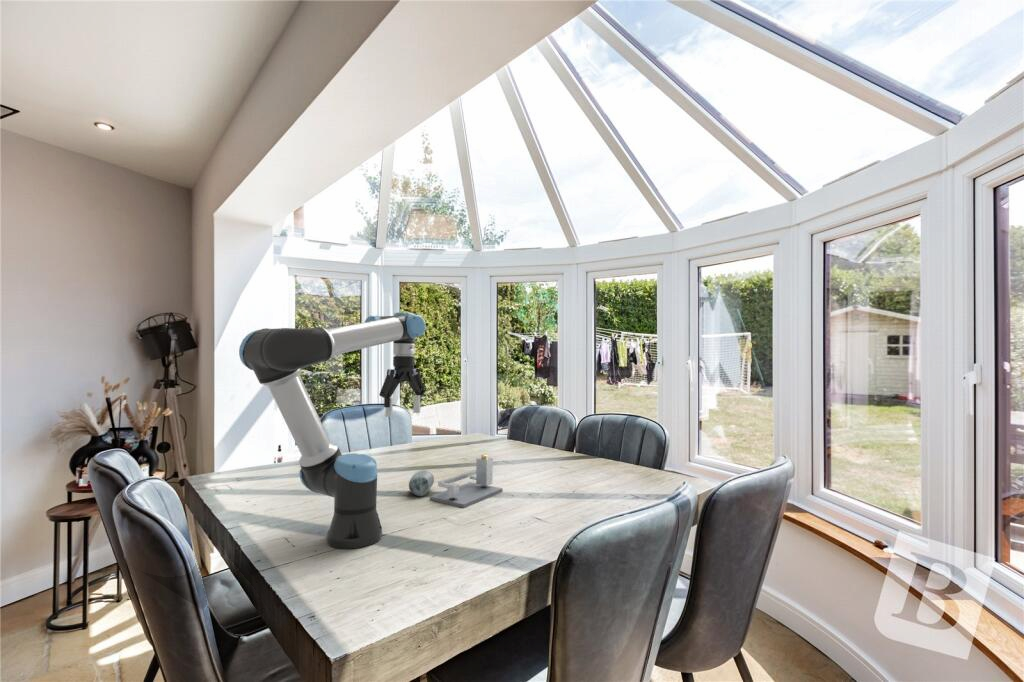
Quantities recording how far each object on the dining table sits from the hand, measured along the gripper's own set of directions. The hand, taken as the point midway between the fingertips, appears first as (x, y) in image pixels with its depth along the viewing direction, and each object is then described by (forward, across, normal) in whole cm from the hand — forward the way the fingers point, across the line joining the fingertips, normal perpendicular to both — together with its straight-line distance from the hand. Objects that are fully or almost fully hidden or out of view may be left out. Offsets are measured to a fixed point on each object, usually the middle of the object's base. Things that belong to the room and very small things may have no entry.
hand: (403, 414), depth 169 cm
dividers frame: (+30, +22, -11) cm, 39 cm away
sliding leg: (+30, +30, -12) cm, 45 cm away
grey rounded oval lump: (+32, +14, +4) cm, 35 cm away
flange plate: (+32, +21, -13) cm, 40 cm away
